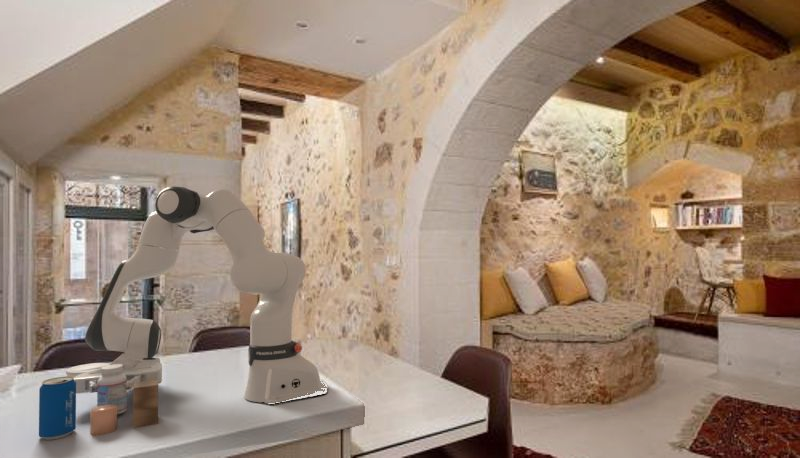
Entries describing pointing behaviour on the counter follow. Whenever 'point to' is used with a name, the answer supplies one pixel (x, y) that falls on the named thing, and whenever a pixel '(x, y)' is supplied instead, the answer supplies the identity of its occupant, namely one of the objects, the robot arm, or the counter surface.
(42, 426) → the beverage can
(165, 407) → the counter surface
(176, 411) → the counter surface
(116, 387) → the pill bottle
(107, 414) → the peach rounded block
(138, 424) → the walnut block
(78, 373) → the ramekin
